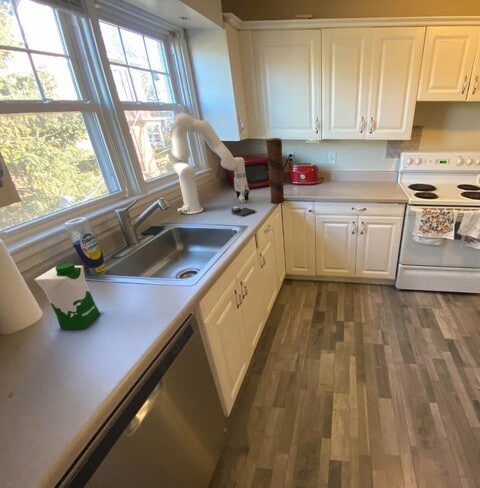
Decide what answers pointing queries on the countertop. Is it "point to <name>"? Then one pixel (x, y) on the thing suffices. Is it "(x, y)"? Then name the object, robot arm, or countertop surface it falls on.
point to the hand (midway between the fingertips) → (242, 199)
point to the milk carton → (69, 296)
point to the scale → (242, 211)
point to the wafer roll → (275, 169)
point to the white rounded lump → (242, 198)
